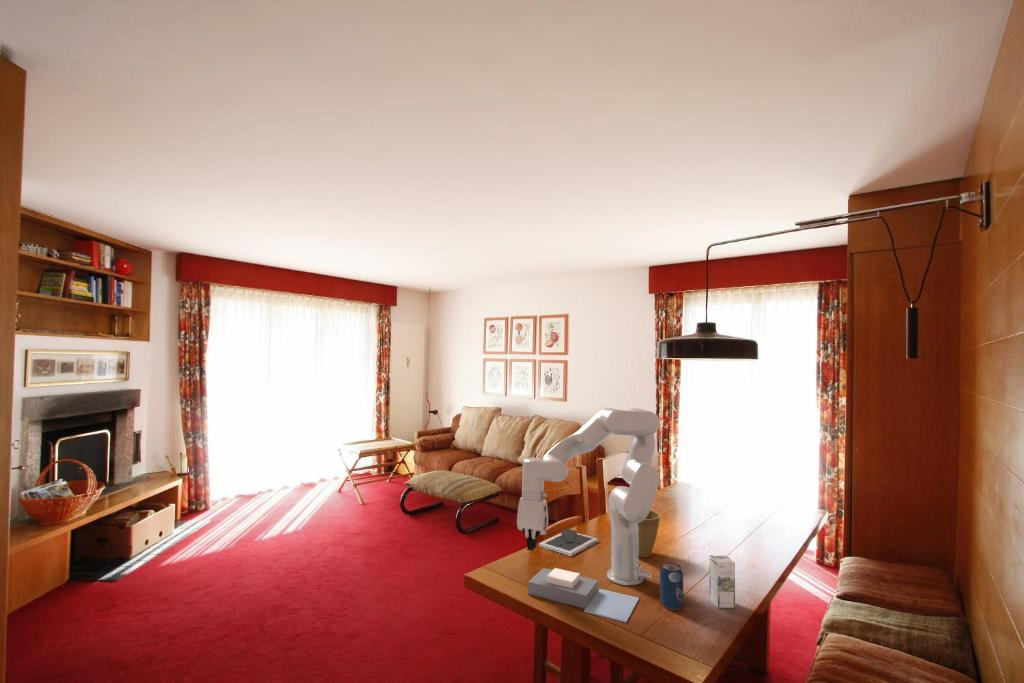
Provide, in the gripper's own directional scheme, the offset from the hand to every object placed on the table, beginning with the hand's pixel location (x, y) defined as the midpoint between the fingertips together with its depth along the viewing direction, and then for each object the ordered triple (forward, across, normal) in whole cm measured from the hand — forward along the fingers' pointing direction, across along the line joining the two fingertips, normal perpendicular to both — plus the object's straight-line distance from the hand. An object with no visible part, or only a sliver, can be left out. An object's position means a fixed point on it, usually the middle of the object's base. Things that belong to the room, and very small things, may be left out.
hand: (531, 549), depth 162 cm
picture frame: (+13, +2, -42) cm, 44 cm away
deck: (+12, -12, -1) cm, 17 cm away
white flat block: (+8, -12, 0) cm, 14 cm away
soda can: (+12, -45, -10) cm, 47 cm away
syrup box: (+11, -59, -18) cm, 62 cm away
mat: (+12, -28, -1) cm, 31 cm away
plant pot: (+11, -27, -46) cm, 54 cm away
